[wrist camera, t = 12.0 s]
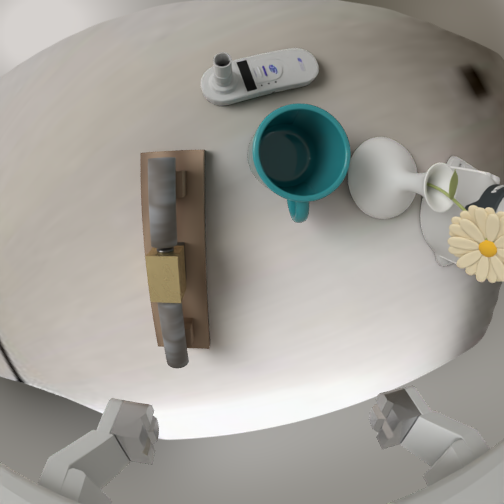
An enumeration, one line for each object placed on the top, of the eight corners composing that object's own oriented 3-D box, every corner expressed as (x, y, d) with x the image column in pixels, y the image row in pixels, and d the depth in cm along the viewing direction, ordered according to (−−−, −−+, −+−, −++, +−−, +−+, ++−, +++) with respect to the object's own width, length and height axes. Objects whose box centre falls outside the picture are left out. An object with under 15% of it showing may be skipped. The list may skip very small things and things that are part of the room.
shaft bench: (204, 150, 33) (196, 146, 25) (209, 342, 41) (206, 374, 34) (144, 153, 32) (122, 151, 25) (160, 340, 41) (149, 371, 33)
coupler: (183, 243, 32) (177, 253, 28) (186, 290, 34) (181, 305, 30) (154, 243, 32) (145, 253, 28) (159, 289, 34) (151, 304, 30)
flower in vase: (333, 145, 33) (481, 131, 10) (400, 132, 33) (546, 127, 9) (354, 237, 37) (480, 330, 14) (416, 216, 37) (547, 274, 13)
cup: (254, 217, 36) (263, 240, 25) (242, 125, 32) (246, 106, 21) (321, 209, 36) (356, 228, 25) (312, 119, 32) (345, 102, 21)
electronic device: (347, 61, 22) (202, 91, 22) (318, 84, 31) (209, 112, 31) (329, 21, 20) (187, 47, 20) (305, 52, 30) (197, 77, 30)
